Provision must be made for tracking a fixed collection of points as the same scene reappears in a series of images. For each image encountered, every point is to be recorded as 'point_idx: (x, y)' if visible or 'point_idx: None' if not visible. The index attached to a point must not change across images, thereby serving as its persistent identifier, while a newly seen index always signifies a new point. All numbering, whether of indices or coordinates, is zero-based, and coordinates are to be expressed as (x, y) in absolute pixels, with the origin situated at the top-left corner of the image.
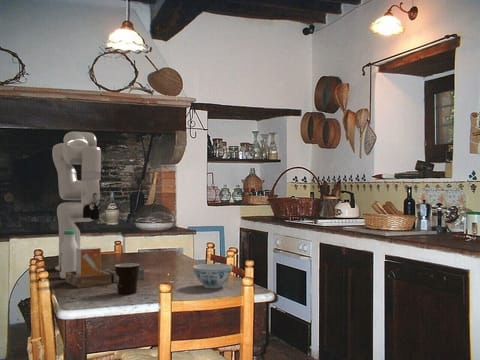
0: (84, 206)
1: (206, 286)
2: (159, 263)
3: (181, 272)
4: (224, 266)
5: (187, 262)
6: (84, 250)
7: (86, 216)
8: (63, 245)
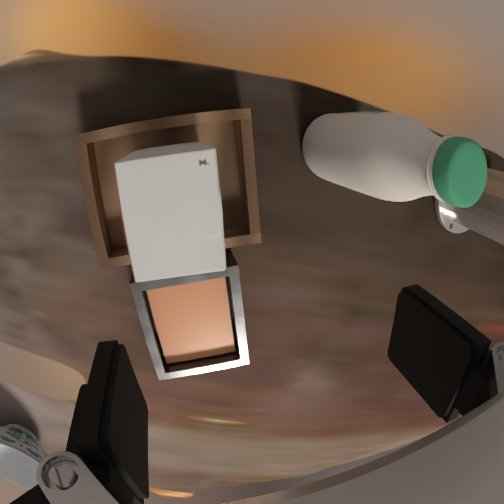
0: (491, 376)
1: (8, 425)
2: (385, 408)
3: (228, 442)
4: None
5: (353, 451)
6: (117, 183)
7: (402, 324)
8: (400, 123)
